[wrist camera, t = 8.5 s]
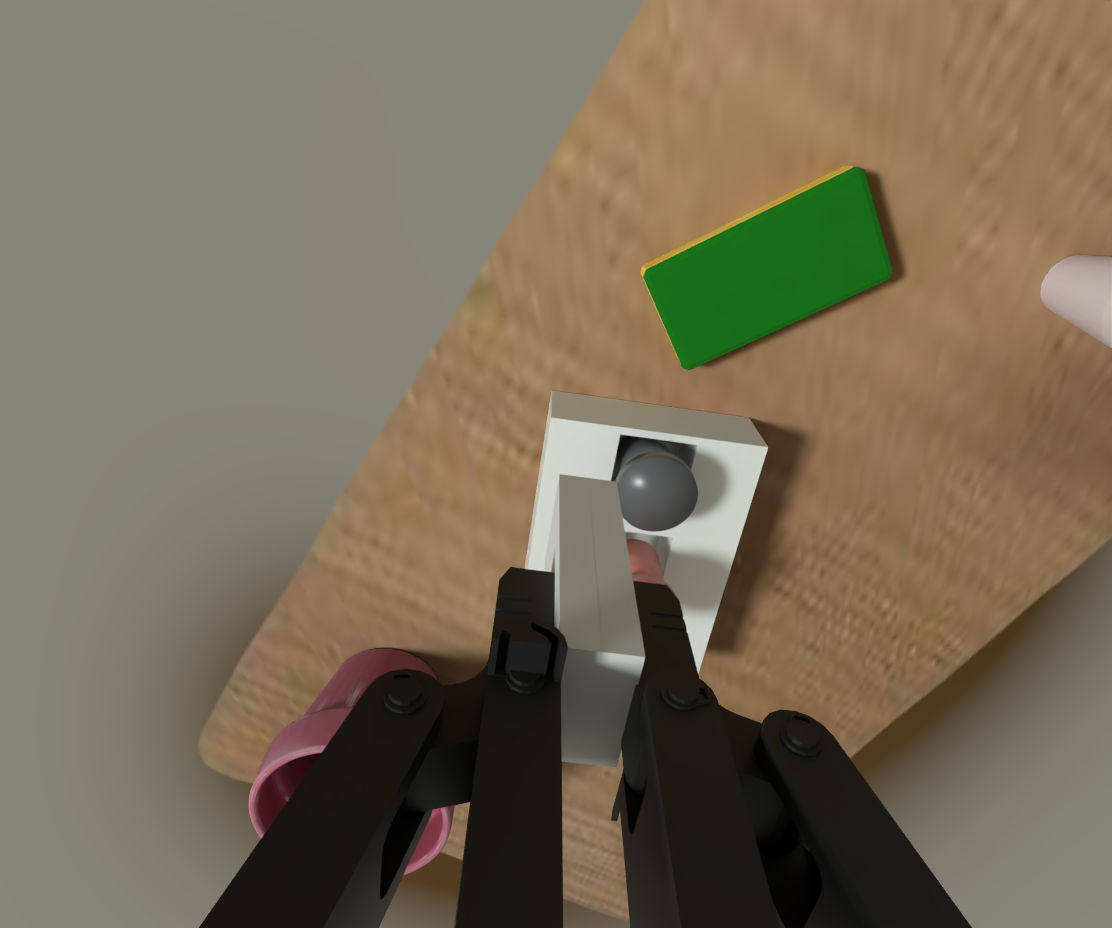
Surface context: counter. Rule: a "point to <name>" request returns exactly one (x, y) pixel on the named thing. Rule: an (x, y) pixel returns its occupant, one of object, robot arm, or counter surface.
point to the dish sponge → (770, 267)
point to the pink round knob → (644, 562)
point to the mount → (715, 461)
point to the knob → (654, 484)
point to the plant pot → (313, 733)
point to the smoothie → (1082, 294)
